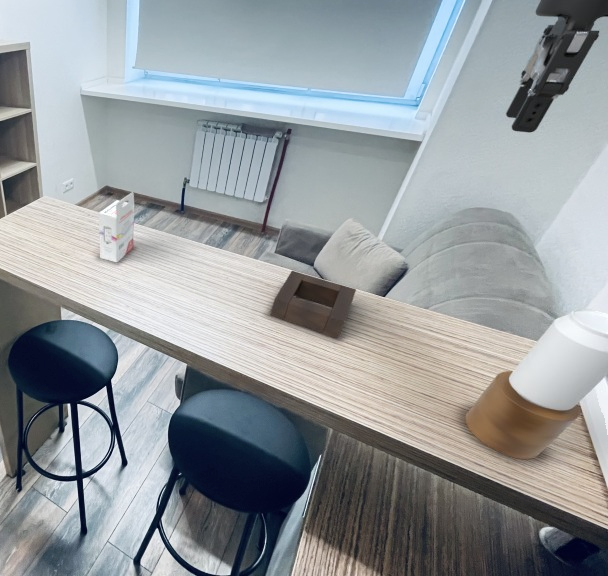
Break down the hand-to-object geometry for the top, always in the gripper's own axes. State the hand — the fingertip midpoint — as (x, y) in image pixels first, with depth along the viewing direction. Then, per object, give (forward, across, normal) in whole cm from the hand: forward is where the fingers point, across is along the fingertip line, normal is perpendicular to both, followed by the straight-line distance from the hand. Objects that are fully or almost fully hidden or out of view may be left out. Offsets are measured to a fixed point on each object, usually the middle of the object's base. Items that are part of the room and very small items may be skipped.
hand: (518, 123), depth 52 cm
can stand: (+36, -1, +15) cm, 39 cm away
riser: (+36, -15, -13) cm, 41 cm away
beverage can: (+28, -16, -13) cm, 35 cm away
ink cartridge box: (+36, -4, +58) cm, 69 cm away
